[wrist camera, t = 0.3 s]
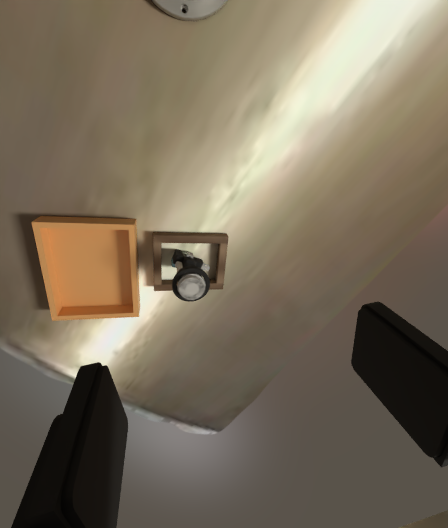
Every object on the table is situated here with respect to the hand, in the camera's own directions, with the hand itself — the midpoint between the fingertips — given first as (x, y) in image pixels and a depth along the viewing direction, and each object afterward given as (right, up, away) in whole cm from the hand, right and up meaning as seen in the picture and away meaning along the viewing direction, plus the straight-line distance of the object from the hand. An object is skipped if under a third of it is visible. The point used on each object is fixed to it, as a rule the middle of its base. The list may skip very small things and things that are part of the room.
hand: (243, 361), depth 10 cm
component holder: (-7, +4, +36) cm, 37 cm away
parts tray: (-21, +3, +33) cm, 40 cm away
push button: (-7, +4, +36) cm, 37 cm away
